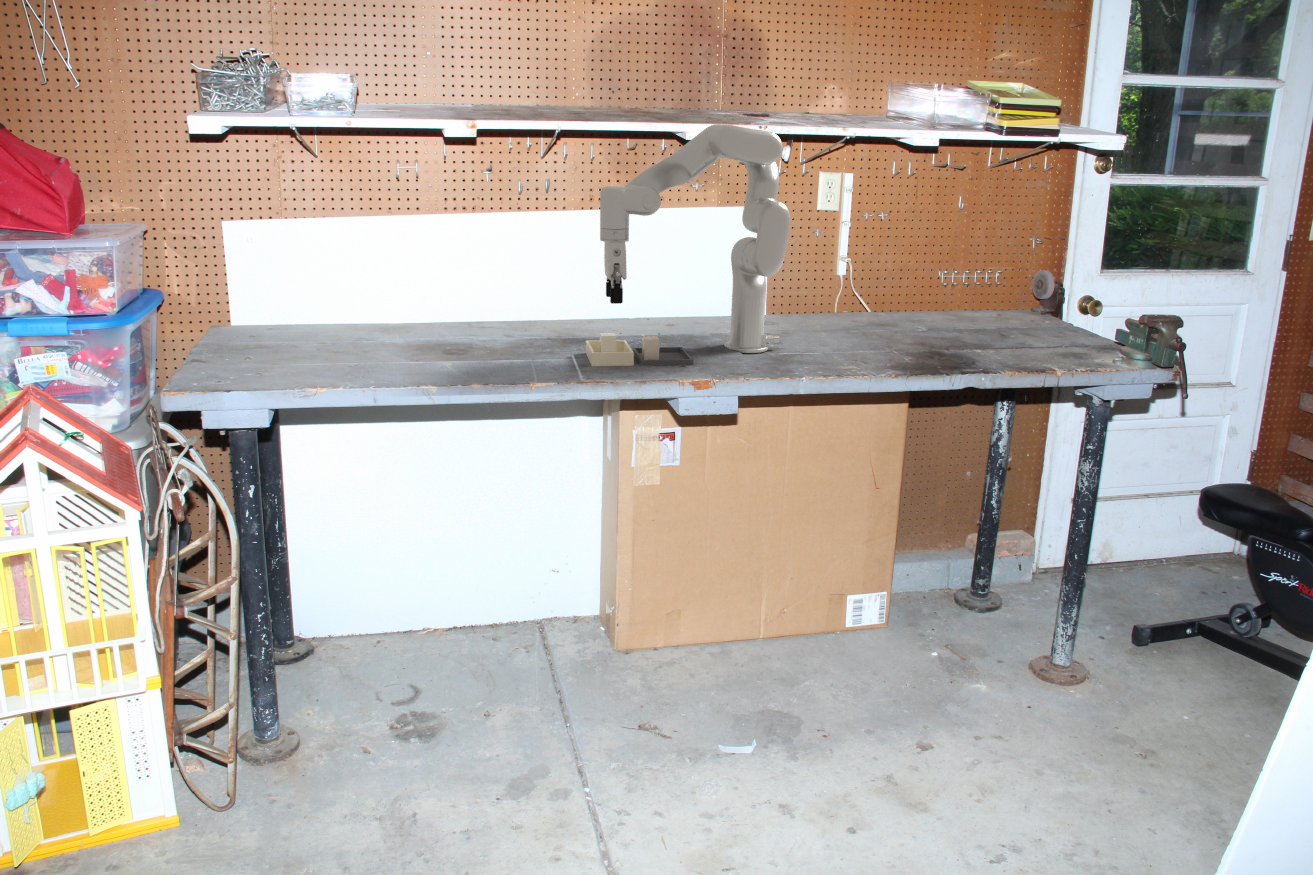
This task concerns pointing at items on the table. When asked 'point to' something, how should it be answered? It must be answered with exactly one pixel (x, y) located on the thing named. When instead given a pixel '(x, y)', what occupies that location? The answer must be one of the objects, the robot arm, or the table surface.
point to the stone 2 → (650, 348)
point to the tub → (610, 354)
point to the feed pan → (666, 356)
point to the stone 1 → (607, 342)
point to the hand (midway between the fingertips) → (614, 300)
